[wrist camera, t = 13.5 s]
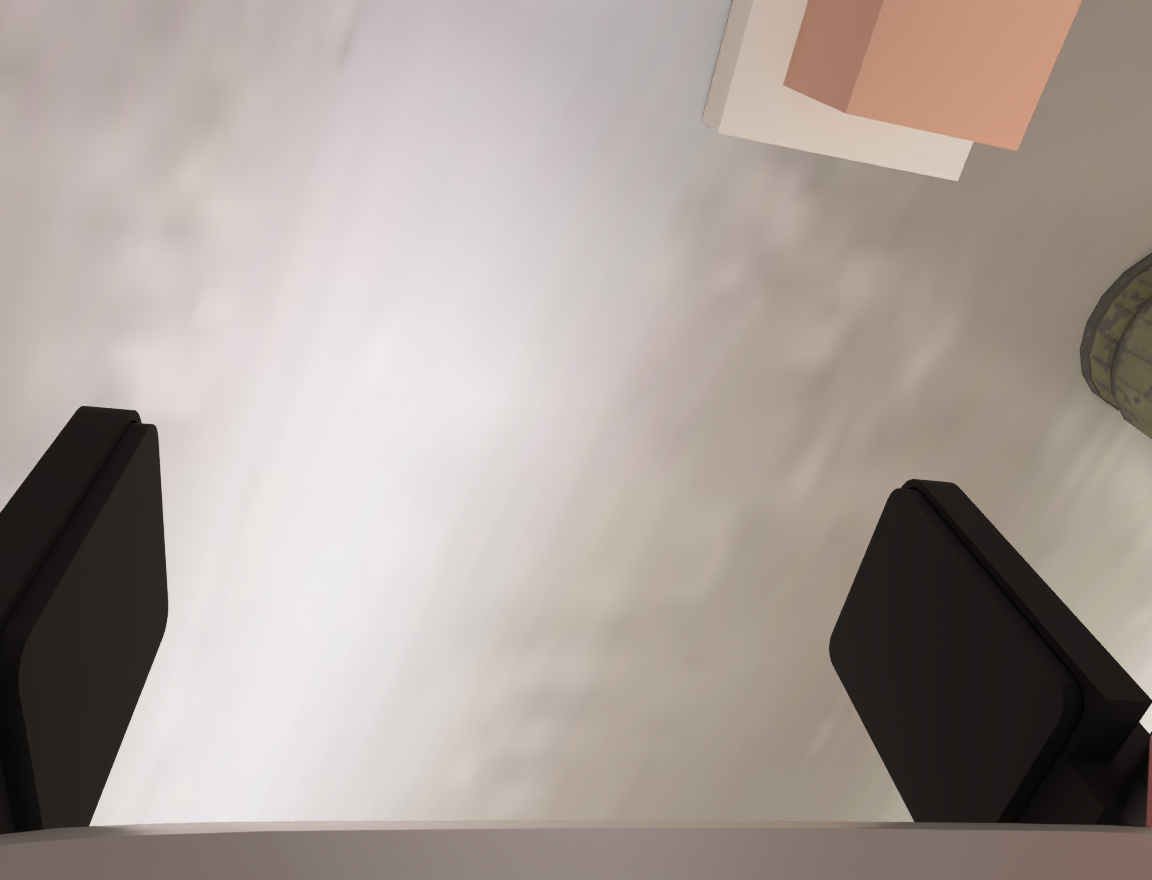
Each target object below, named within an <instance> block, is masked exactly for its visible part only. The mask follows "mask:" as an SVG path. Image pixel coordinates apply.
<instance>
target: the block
mask: <svg viewBox="0 0 1152 880" xmlns="http://www.w3.org/2000/svg"><path fill="white" fill-rule="evenodd" d="M807 3H808V0H733V2H732V6H731V9H730V13H729V17H728V21H727V25H726V29H725V33H724V36H723V40H722V44H721V48H720V52H719V56H718V60H717V63H716V67H715V71H714V75H713V79H712V83H711V87H710V91H709V94H708V98H707V102H706V106H705V110H704V114H703V118H702V122H703V123H705V124H706V125H707V126H709V127H710V128H711V129H713V130H714V131H715V132H717V133H719V134H724V135H729V136H734V137H739V138H744V139H749V140H754V141H759V142H764V143H769V144H774V145H779V146H784V147H789V148H794V149H799V150H804V151H809V152H814V153H819V154H824V155H828V156H833V157H838V158H843V159H848V160H853V161H858V162H863V163H868V164H873V165H878V166H883V167H888V168H893V169H898V170H903V171H908V172H913V173H918V174H923V175H928V176H933V177H938V178H943V179H948V180H953V181H958V179H959V177H960V174H961V172H962V169H963V167H964V164H965V162H966V159H967V157H968V154H969V152H970V149H971V147H972V144H973V141H969V140H964V139H960V138H955V137H950V136H946V135H941V134H937V133H932V132H928V131H923V130H919V129H914V128H909V127H905V126H900V125H896V124H891V123H887V122H882V121H877V120H873V119H868V118H864V117H859V116H855V115H850V114H846V113H843V112H841V111H839V110H837V109H835V108H832V107H830V106H828V105H826V104H824V103H821V102H819V101H817V100H815V99H812V98H810V97H808V96H806V95H804V94H801V93H799V92H797V91H795V90H793V89H790V88H788V87H786V86H784V85H783V83H784V80H785V77H786V73H787V70H788V67H789V63H790V60H791V57H792V53H793V50H794V47H795V43H796V40H797V37H798V33H799V30H800V27H801V23H802V20H803V17H804V13H805V10H806V7H807Z"/></svg>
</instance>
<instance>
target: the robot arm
mask: <svg viewBox="0 0 1152 880" xmlns="http://www.w3.org/2000/svg"><path fill="white" fill-rule="evenodd" d="M167 617H168V591H167V575H166V558H165V541H164V525H163V508H162V491H161V474H160V458H159V441H158V431H157V428H156V426H155V425H154V424H142V423H141V419H140V416H139V414H138V412H137V411H136V410H124V409H113V408H102V407H90V406H81V407H80V408H79V409H78V410H77V411H76V412H75V414H74V415H73V416H72V418H71V419H70V420H69V422H68V423H67V424H66V426H65V427H64V428H63V430H62V431H61V432H60V434H59V435H58V436H57V438H56V439H55V440H54V442H53V443H52V444H51V446H50V447H49V448H48V450H47V451H46V452H45V454H44V455H43V456H42V458H41V459H40V460H39V462H38V463H37V464H36V466H35V467H34V468H33V470H32V471H31V472H30V474H29V475H28V476H27V478H26V479H25V480H24V482H23V483H22V484H21V486H20V487H19V488H18V490H17V491H16V493H15V494H14V495H13V497H12V498H11V499H10V501H9V502H8V503H7V505H6V506H5V507H4V509H3V510H2V511H1V513H0V880H1152V732H1151V733H1150V734H1149V733H1148V732H1147V731H1146V729H1145V728H1144V727H1143V726H1142V725H1141V724H1140V723H1139V721H1140V719H1141V718H1142V717H1143V715H1144V714H1145V712H1146V711H1147V709H1148V708H1149V706H1150V705H1151V703H1152V700H1151V699H1150V698H1149V696H1148V695H1147V694H1146V693H1145V692H1144V691H1143V690H1142V689H1141V688H1140V687H1139V685H1138V684H1137V683H1136V682H1135V681H1134V680H1133V679H1132V678H1131V677H1130V675H1129V674H1128V673H1127V672H1126V671H1125V670H1124V669H1123V668H1122V667H1121V666H1120V664H1119V663H1118V662H1117V661H1116V660H1115V659H1114V658H1113V657H1112V656H1111V655H1110V653H1109V652H1108V651H1107V650H1106V649H1105V648H1104V647H1103V646H1102V645H1101V643H1100V642H1099V641H1098V640H1097V639H1096V638H1095V637H1094V636H1093V635H1092V634H1091V632H1090V631H1089V630H1088V629H1087V628H1086V627H1085V626H1084V625H1083V624H1082V623H1081V621H1080V620H1079V619H1078V618H1077V617H1076V616H1075V615H1074V614H1073V613H1072V611H1071V610H1070V609H1069V608H1068V607H1067V606H1066V605H1065V604H1064V603H1063V602H1062V600H1061V599H1060V598H1059V597H1058V596H1057V595H1056V594H1055V593H1054V592H1053V591H1052V589H1051V588H1050V587H1049V586H1048V585H1047V584H1046V583H1045V582H1044V581H1043V579H1042V578H1041V577H1040V576H1039V575H1038V574H1037V573H1036V572H1035V571H1034V570H1033V568H1032V567H1031V566H1030V565H1029V564H1028V563H1027V562H1026V561H1025V560H1024V559H1023V557H1022V556H1021V555H1020V554H1019V553H1018V552H1017V551H1016V550H1015V549H1014V547H1013V546H1012V545H1011V544H1010V543H1009V542H1008V541H1007V540H1006V539H1005V538H1004V536H1003V535H1002V534H1001V533H1000V532H999V531H998V530H997V529H996V528H995V526H994V525H993V524H992V523H991V522H990V521H989V520H988V519H987V518H986V517H985V515H984V514H983V513H982V512H981V511H980V510H979V509H978V508H977V507H976V506H975V504H974V503H973V502H972V501H971V500H970V499H969V498H968V497H967V496H966V494H965V493H964V492H963V491H962V490H961V489H960V488H959V487H958V486H957V485H955V484H954V483H950V482H941V481H929V480H918V479H912V480H909V481H907V482H906V483H905V484H904V485H903V486H902V487H901V488H898V489H895V490H894V491H893V492H892V493H891V494H890V496H889V498H888V500H887V502H886V505H885V507H884V510H883V512H882V514H881V517H880V519H879V522H878V524H877V526H876V529H875V531H874V534H873V536H872V538H871V541H870V543H869V546H868V548H867V550H866V553H865V555H864V558H863V560H862V563H861V565H860V567H859V570H858V572H857V575H856V577H855V579H854V582H853V584H852V587H851V589H850V591H849V594H848V596H847V599H846V601H845V604H844V606H843V608H842V611H841V613H840V616H839V618H838V620H837V623H836V625H835V628H834V630H833V632H832V635H831V638H830V644H829V653H830V658H831V662H832V664H833V666H834V668H835V670H836V672H837V674H838V676H839V678H840V680H841V682H842V684H843V686H844V688H845V689H846V691H847V693H848V695H849V697H850V699H851V701H852V703H853V705H854V707H855V709H856V711H857V712H858V714H859V716H860V718H861V720H862V722H863V724H864V726H865V728H866V730H867V732H868V734H869V736H870V737H871V739H872V741H873V743H874V745H875V747H876V749H877V751H878V753H879V755H880V757H881V759H882V760H883V762H884V764H885V766H886V768H887V770H888V772H889V774H890V776H891V778H892V780H893V782H894V783H895V785H896V787H897V789H898V791H899V793H900V795H901V797H902V799H903V801H904V803H905V805H906V807H907V808H908V810H909V812H910V814H911V816H912V818H913V820H914V822H831V821H566V820H548V821H279V822H203V823H166V824H136V825H114V826H91V827H89V825H90V822H91V820H92V817H93V814H94V812H95V809H96V807H97V804H98V802H99V799H100V797H101V794H102V791H103V789H104V786H105V784H106V781H107V779H108V776H109V774H110V771H111V768H112V766H113V763H114V761H115V758H116V756H117V753H118V751H119V748H120V745H121V743H122V740H123V738H124V735H125V733H126V730H127V728H128V725H129V722H130V720H131V717H132V715H133V712H134V710H135V707H136V705H137V702H138V699H139V697H140V694H141V692H142V689H143V687H144V684H145V682H146V679H147V676H148V674H149V671H150V669H151V666H152V664H153V661H154V659H155V656H156V653H157V651H158V648H159V646H160V643H161V641H162V638H163V635H164V632H165V628H166V623H167Z"/></svg>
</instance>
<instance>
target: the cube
mask: <svg viewBox="0 0 1152 880" xmlns="http://www.w3.org/2000/svg"><path fill="white" fill-rule="evenodd" d="M1081 2H1082V0H808V3H807V7H806V10H805V13H804V17H803V20H802V23H801V27H800V30H799V33H798V37H797V40H796V43H795V47H794V50H793V53H792V57H791V60H790V63H789V67H788V70H787V73H786V77H785V80H784V83H783V85H784V86H786V87H788V88H790V89H793V90H795V91H797V92H799V93H801V94H804V95H806V96H808V97H810V98H812V99H815V100H817V101H819V102H821V103H824V104H826V105H828V106H830V107H832V108H835V109H837V110H839V111H841V112H843V113H846V114H850V115H855V116H859V117H864V118H868V119H873V120H877V121H882V122H887V123H891V124H896V125H900V126H905V127H909V128H914V129H919V130H923V131H928V132H932V133H937V134H941V135H946V136H950V137H955V138H960V139H964V140H969V141H973V142H978V143H982V144H987V145H991V146H996V147H1001V148H1005V149H1010V150H1014V151H1017V150H1018V148H1019V145H1020V143H1021V141H1022V138H1023V136H1024V134H1025V131H1026V129H1027V127H1028V124H1029V122H1030V120H1031V118H1032V115H1033V113H1034V111H1035V108H1036V106H1037V104H1038V101H1039V99H1040V97H1041V94H1042V92H1043V90H1044V87H1045V85H1046V83H1047V80H1048V78H1049V76H1050V73H1051V71H1052V69H1053V66H1054V64H1055V62H1056V60H1057V57H1058V55H1059V53H1060V50H1061V48H1062V46H1063V43H1064V41H1065V39H1066V36H1067V34H1068V32H1069V29H1070V27H1071V25H1072V22H1073V20H1074V18H1075V15H1076V13H1077V11H1078V9H1079V6H1080V4H1081Z"/></svg>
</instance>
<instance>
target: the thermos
mask: <svg viewBox="0 0 1152 880" xmlns="http://www.w3.org/2000/svg"><path fill="white" fill-rule="evenodd" d="M1080 355H1081V367H1082V374H1083V376H1084V378H1085V380H1086V381H1087V383H1088V385H1089V387H1090V389H1091V391H1092V392H1093V393H1094V394H1096V395H1097V396H1099V397H1100V398H1101V399H1103V400H1104V401H1106V402H1107V403H1108V404H1110V405H1111V406H1113V407H1114V408H1115V409H1117V410H1120V412H1121V414H1122V416H1123V418H1124V419H1125V420H1126V421H1127V422H1129V423H1130V424H1131V425H1133V426H1134V427H1136V428H1137V429H1138V430H1140V431H1141V432H1143V433H1144V434H1145V435H1147V436H1148V437H1149V438H1151V439H1152V253H1151V254H1150V255H1149V256H1147V257H1146V258H1144V259H1143V260H1141V261H1140V262H1139V263H1137V264H1136V265H1134V266H1133V267H1131V268H1130V269H1128V270H1127V271H1126V272H1124V273H1123V274H1122V275H1121V276H1120V278H1119V279H1118V280H1117V281H1116V282H1115V283H1114V284H1113V285H1112V286H1111V287H1110V288H1109V289H1108V291H1107V292H1106V293H1105V294H1104V295H1103V296H1102V297H1101V299H1100V301H1099V303H1098V304H1097V306H1096V308H1095V310H1094V311H1093V313H1092V315H1091V317H1090V319H1089V320H1088V322H1087V324H1086V328H1085V332H1084V336H1083V340H1082V344H1081V348H1080Z"/></svg>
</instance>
